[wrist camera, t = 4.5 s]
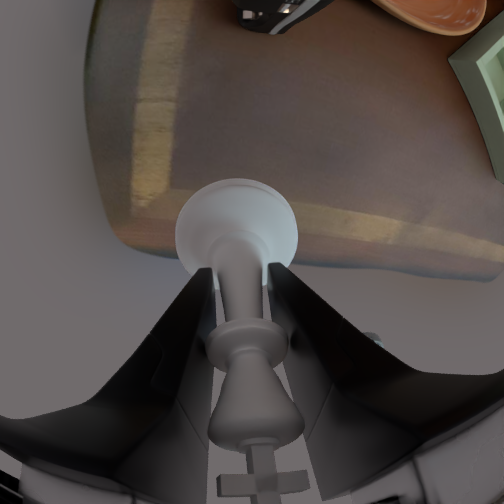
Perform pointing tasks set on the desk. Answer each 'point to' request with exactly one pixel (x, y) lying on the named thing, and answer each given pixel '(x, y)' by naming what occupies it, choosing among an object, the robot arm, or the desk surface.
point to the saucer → (437, 14)
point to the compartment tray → (485, 85)
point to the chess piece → (245, 328)
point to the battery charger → (275, 13)
